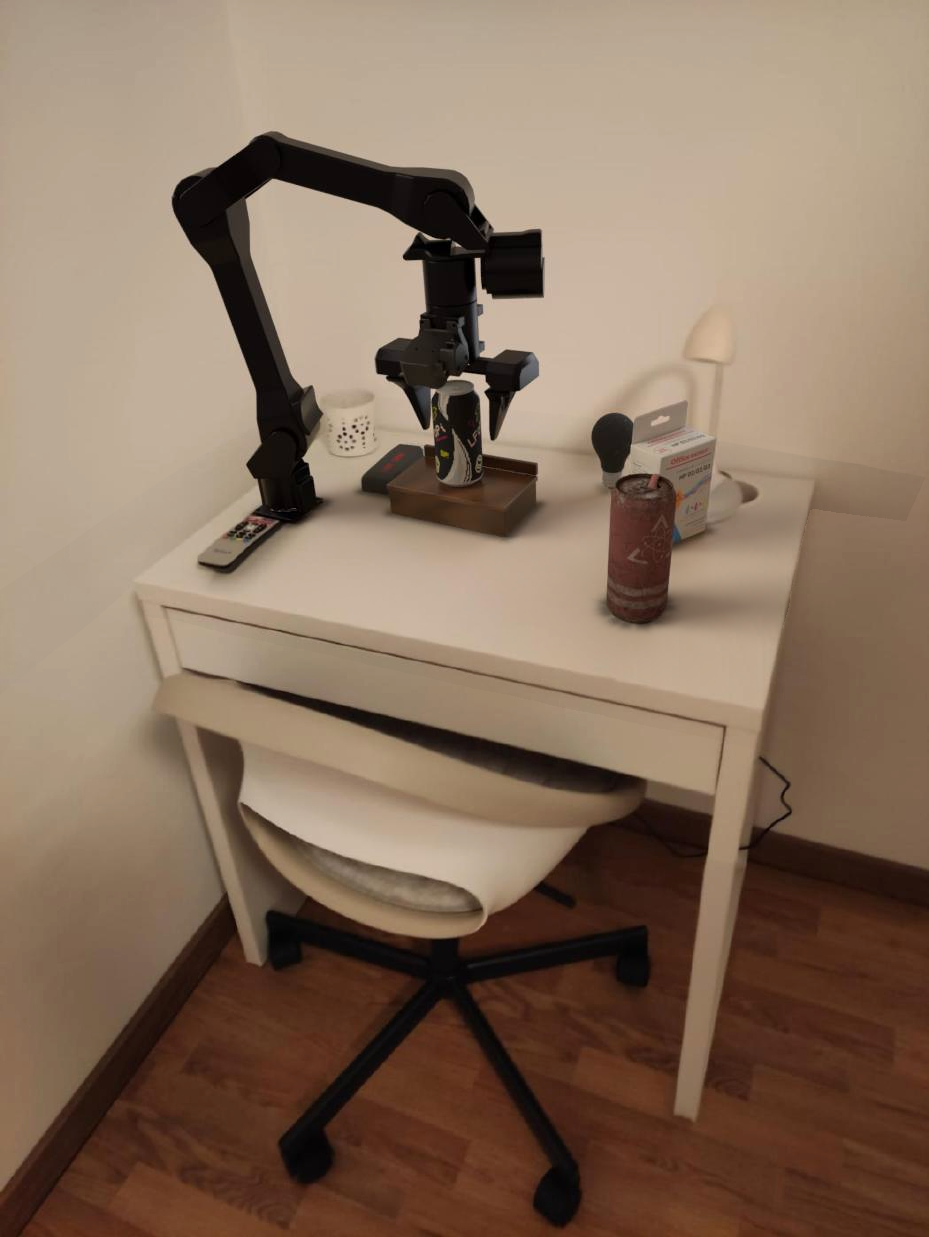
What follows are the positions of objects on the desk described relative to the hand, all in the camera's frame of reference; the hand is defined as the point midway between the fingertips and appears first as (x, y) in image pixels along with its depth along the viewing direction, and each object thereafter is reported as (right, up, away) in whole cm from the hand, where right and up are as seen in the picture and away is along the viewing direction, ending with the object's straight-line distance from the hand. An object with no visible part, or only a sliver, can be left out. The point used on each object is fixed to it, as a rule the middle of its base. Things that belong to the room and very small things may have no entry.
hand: (459, 434), depth 105 cm
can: (+18, -21, -14) cm, 31 cm away
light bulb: (+20, -5, +8) cm, 22 cm away
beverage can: (0, -5, +4) cm, 6 cm away
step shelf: (0, -8, +6) cm, 10 cm away
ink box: (+24, -12, -2) cm, 27 cm away
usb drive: (-8, -3, +15) cm, 17 cm away
